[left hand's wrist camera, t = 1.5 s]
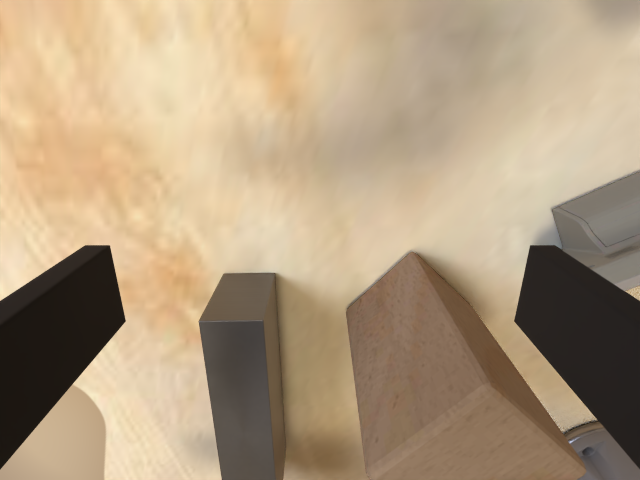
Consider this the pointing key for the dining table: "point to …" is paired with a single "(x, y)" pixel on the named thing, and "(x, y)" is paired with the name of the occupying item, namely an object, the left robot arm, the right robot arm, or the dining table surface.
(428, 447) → the wooden block
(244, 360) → the bar
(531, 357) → the dining table surface
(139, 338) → the dining table surface
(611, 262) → the digital clock
